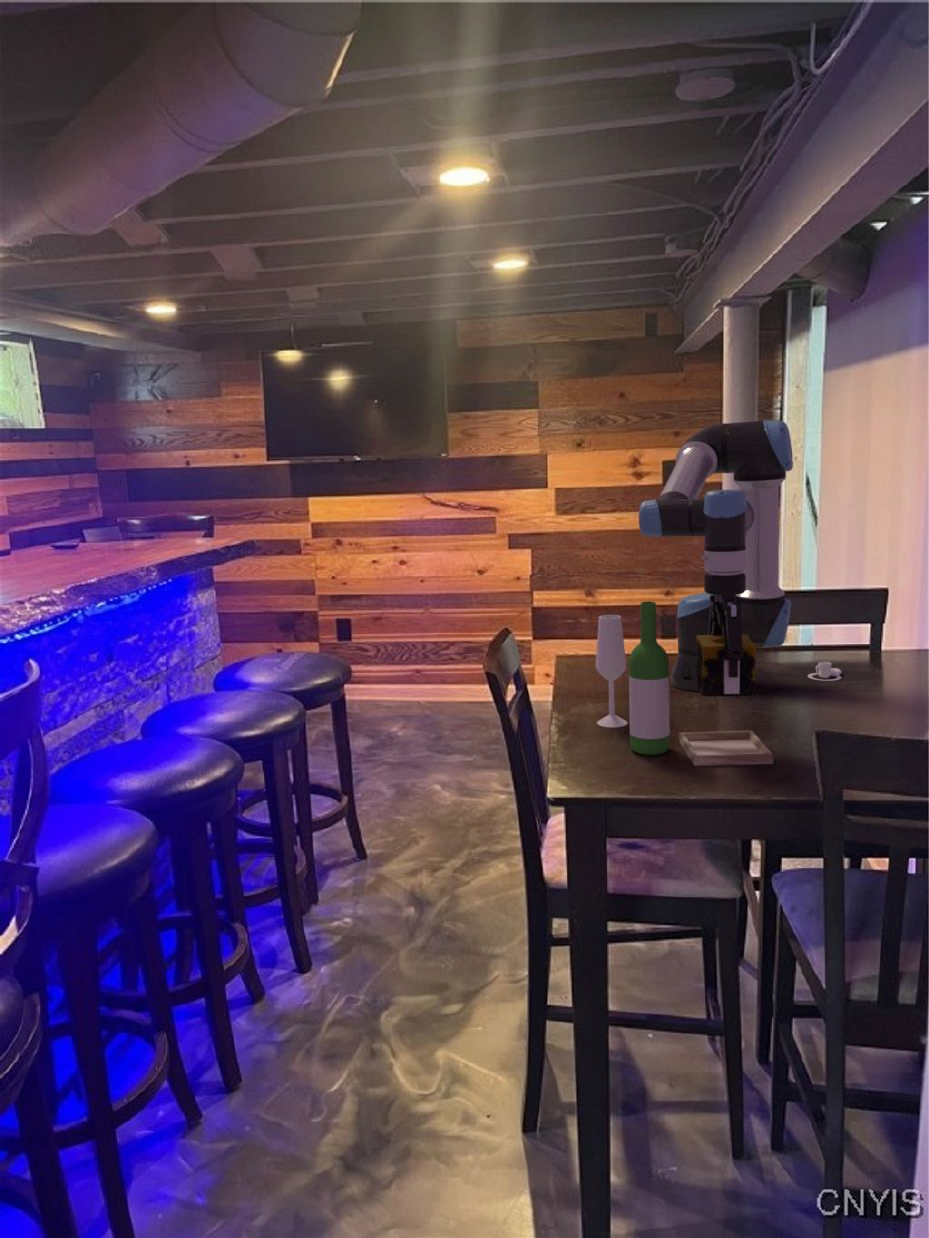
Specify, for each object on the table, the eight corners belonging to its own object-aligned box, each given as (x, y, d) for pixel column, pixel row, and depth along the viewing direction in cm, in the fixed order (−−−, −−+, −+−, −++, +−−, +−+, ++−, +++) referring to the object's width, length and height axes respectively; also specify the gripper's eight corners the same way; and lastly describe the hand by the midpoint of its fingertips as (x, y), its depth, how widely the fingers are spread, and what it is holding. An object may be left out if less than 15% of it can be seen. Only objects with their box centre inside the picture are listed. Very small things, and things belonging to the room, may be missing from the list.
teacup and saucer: (836, 673, 221) (837, 658, 221) (849, 681, 213) (850, 665, 213) (802, 675, 222) (803, 660, 221) (814, 683, 214) (814, 667, 213)
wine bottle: (645, 759, 165) (643, 607, 159) (622, 747, 172) (619, 602, 167) (677, 752, 168) (677, 602, 162) (654, 741, 175) (652, 598, 170)
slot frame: (679, 741, 174) (679, 732, 174) (751, 738, 173) (751, 730, 173) (694, 765, 160) (694, 756, 160) (773, 763, 159) (773, 754, 159)
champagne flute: (591, 721, 190) (588, 616, 186) (616, 716, 193) (614, 612, 189) (607, 729, 184) (605, 620, 180) (633, 724, 187) (631, 617, 182)
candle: (694, 683, 170) (694, 634, 168) (747, 683, 168) (747, 633, 167) (700, 697, 160) (700, 645, 159) (756, 697, 159) (756, 644, 157)
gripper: (692, 566, 172) (692, 671, 176) (719, 581, 149) (718, 702, 153) (729, 564, 171) (729, 670, 175) (762, 579, 149) (761, 701, 153)
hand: (724, 685), depth 164 cm, fingers closed on candle, 10 cm apart
